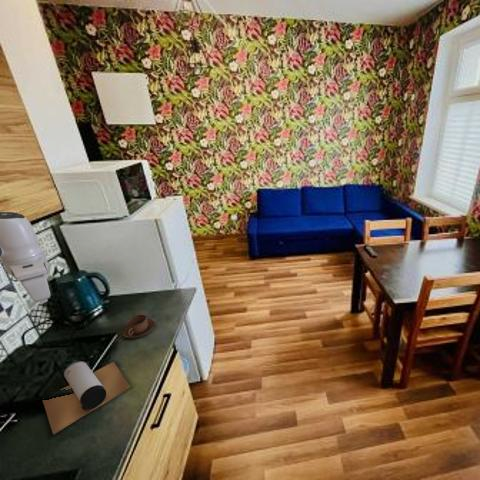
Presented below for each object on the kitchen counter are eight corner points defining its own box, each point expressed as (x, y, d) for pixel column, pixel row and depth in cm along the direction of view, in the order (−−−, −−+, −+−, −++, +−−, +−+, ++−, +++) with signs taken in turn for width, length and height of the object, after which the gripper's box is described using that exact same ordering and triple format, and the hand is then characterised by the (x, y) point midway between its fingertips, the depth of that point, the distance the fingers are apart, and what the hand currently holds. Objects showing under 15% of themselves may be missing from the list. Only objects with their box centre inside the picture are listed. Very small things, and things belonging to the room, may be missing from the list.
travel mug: (58, 370, 91) (78, 403, 81) (82, 357, 96) (103, 386, 86) (67, 382, 94) (87, 415, 84) (89, 368, 99) (111, 398, 88)
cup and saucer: (152, 337, 115) (149, 325, 113) (119, 343, 112) (115, 332, 109) (157, 319, 126) (154, 309, 123) (128, 325, 122) (124, 314, 120)
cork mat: (53, 434, 79) (52, 433, 78) (42, 400, 88) (42, 399, 88) (130, 387, 93) (130, 386, 93) (114, 362, 103) (113, 361, 102)
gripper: (8, 256, 86) (25, 293, 91) (15, 278, 74) (34, 318, 79) (35, 250, 90) (50, 285, 95) (46, 270, 78) (63, 308, 84)
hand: (43, 300), depth 87 cm, fingers closed
